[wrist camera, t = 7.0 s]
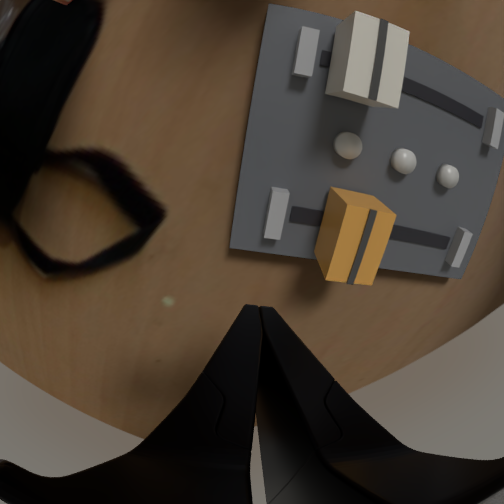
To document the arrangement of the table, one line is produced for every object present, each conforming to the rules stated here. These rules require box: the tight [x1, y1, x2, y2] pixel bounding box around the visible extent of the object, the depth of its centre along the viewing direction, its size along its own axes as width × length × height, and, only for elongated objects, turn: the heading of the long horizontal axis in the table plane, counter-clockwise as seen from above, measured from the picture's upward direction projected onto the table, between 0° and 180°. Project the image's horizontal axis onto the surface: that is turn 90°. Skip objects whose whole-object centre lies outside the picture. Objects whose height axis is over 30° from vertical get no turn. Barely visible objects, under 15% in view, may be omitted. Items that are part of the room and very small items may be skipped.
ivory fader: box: [325, 11, 409, 108], centre depth 13 cm, size 3×4×4 cm, turn 171°
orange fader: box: [314, 187, 396, 285], centre depth 17 cm, size 3×4×4 cm, turn 171°
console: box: [230, 4, 504, 279], centre depth 17 cm, size 20×16×2 cm
